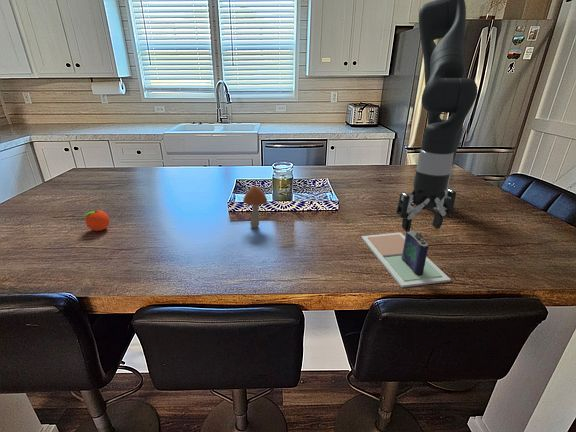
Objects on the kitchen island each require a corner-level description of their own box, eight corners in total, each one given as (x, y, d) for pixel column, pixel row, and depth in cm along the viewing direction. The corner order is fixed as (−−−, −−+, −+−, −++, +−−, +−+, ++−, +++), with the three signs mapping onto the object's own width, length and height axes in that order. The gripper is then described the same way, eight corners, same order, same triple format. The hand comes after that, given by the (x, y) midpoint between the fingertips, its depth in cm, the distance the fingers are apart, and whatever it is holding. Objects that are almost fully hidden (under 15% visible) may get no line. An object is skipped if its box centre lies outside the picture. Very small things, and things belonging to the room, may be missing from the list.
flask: (399, 257, 92) (405, 224, 87) (408, 256, 92) (415, 223, 87) (416, 276, 83) (424, 241, 79) (426, 275, 84) (434, 240, 79)
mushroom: (271, 223, 113) (270, 183, 106) (262, 233, 106) (260, 191, 99) (250, 220, 115) (248, 180, 108) (240, 229, 108) (238, 188, 102)
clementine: (84, 237, 103) (78, 217, 100) (85, 228, 109) (79, 209, 106) (111, 231, 106) (106, 212, 103) (111, 223, 112) (106, 205, 109)
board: (400, 234, 106) (401, 231, 106) (450, 281, 83) (451, 278, 82) (361, 237, 104) (361, 235, 103) (401, 287, 81) (401, 284, 80)
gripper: (449, 162, 80) (436, 220, 87) (397, 166, 77) (388, 224, 85) (470, 172, 73) (454, 233, 80) (414, 176, 71) (403, 238, 78)
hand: (421, 228), depth 83 cm, fingers open, 8 cm apart
